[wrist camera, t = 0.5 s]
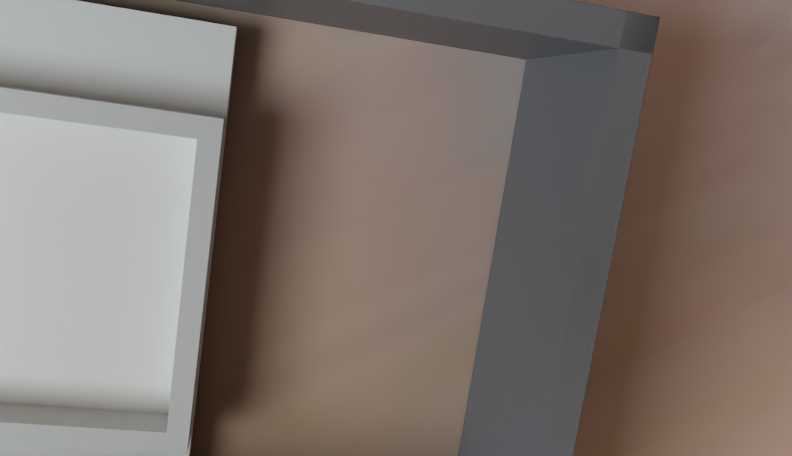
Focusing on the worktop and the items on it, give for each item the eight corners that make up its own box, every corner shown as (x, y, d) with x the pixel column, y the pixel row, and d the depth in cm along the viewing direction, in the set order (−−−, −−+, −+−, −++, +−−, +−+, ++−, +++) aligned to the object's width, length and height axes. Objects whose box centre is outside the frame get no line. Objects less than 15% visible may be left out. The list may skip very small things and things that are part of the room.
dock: (-142, 521, 21) (-297, 683, 15) (-120, -84, 19) (-298, -162, 13) (466, 543, 25) (527, 683, 19) (556, 36, 22) (659, 16, 16)
